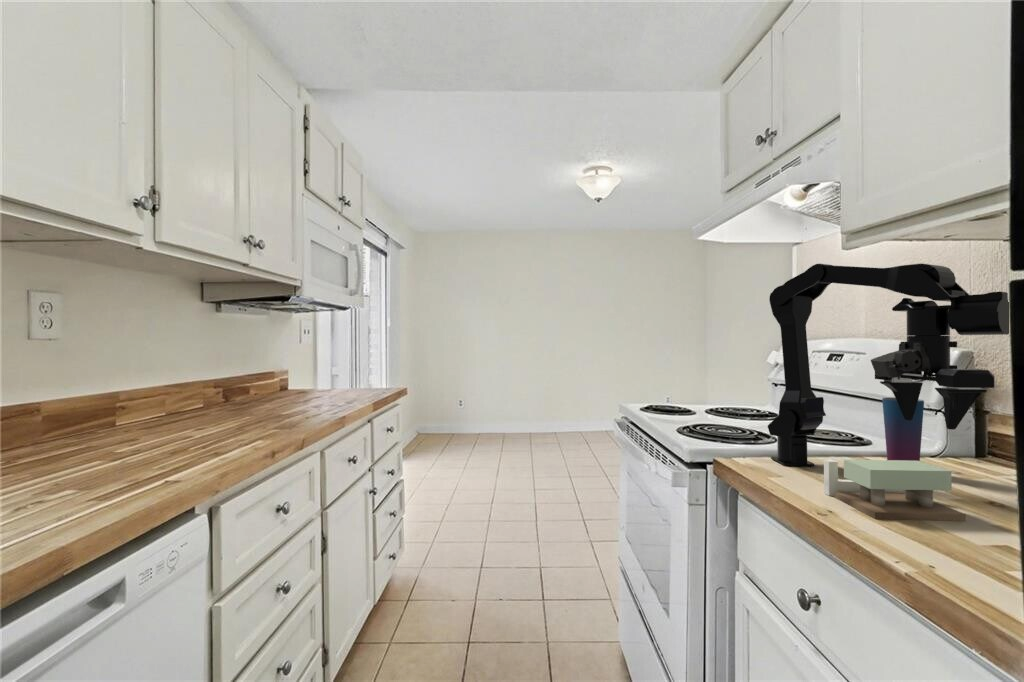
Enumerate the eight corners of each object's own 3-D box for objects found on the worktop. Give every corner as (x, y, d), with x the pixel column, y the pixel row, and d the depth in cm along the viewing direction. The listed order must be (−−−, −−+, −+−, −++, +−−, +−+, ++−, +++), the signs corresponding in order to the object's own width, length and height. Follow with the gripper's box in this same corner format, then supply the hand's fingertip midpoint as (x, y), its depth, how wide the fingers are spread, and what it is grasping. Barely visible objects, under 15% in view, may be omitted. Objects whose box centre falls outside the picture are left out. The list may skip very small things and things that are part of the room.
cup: (932, 475, 95) (932, 401, 95) (894, 473, 96) (893, 400, 96) (911, 467, 102) (911, 397, 102) (875, 465, 103) (875, 397, 103)
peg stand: (834, 497, 82) (834, 474, 82) (913, 498, 81) (913, 475, 81) (875, 518, 72) (874, 492, 72) (965, 520, 71) (965, 494, 71)
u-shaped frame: (824, 493, 84) (823, 459, 84) (906, 494, 83) (906, 460, 83) (829, 495, 83) (828, 461, 83) (913, 497, 82) (913, 462, 82)
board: (918, 478, 79) (917, 460, 79) (951, 490, 73) (951, 471, 73) (843, 477, 80) (843, 459, 80) (870, 489, 74) (870, 469, 74)
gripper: (846, 336, 93) (846, 416, 92) (922, 335, 74) (922, 434, 74) (905, 336, 92) (906, 416, 92) (997, 334, 73) (998, 435, 73)
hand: (928, 424), depth 83 cm, fingers open, 9 cm apart
